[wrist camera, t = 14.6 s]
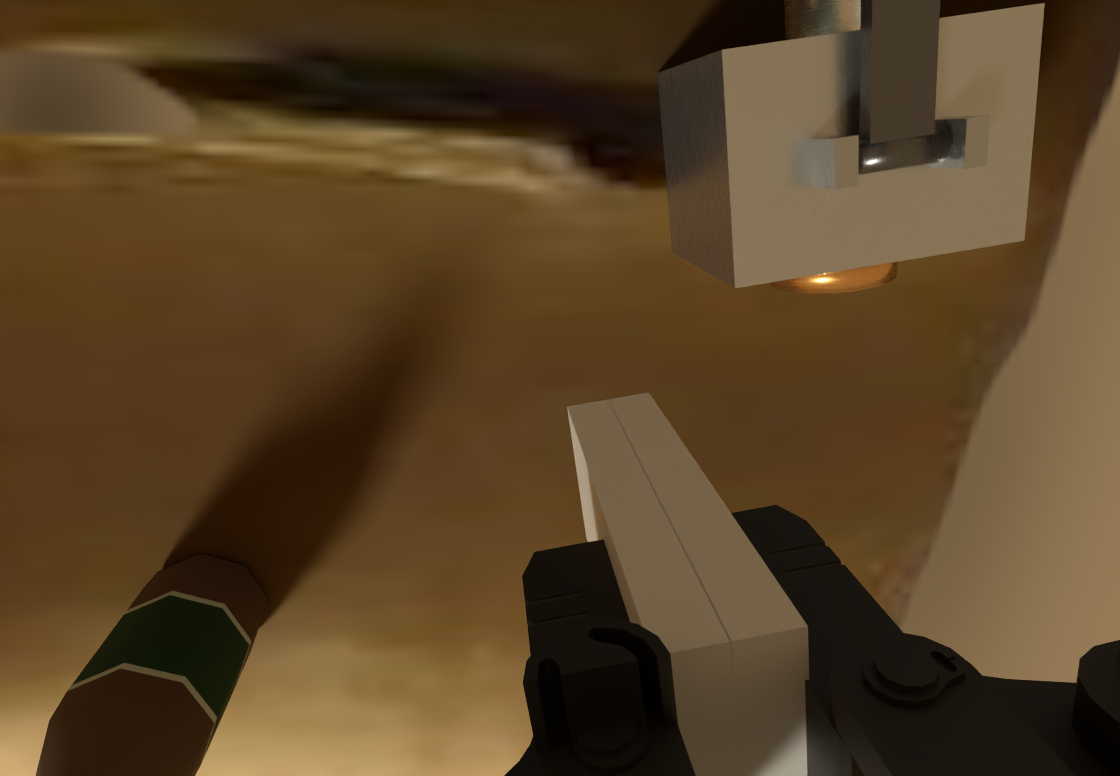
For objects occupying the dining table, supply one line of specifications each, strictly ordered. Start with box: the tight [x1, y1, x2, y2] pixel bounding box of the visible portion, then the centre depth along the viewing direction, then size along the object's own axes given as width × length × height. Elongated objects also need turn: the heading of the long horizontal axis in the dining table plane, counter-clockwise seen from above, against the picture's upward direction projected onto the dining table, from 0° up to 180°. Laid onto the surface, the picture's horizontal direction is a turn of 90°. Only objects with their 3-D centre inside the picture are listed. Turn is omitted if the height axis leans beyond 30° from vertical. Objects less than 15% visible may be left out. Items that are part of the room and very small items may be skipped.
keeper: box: [858, 0, 951, 175], centre depth 29 cm, size 8×4×1 cm, turn 8°
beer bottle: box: [36, 553, 268, 776], centre depth 36 cm, size 8×8×24 cm
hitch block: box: [657, 3, 1045, 288], centre depth 35 cm, size 10×14×13 cm
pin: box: [769, 0, 897, 294], centre depth 35 cm, size 18×6×6 cm, turn 8°
